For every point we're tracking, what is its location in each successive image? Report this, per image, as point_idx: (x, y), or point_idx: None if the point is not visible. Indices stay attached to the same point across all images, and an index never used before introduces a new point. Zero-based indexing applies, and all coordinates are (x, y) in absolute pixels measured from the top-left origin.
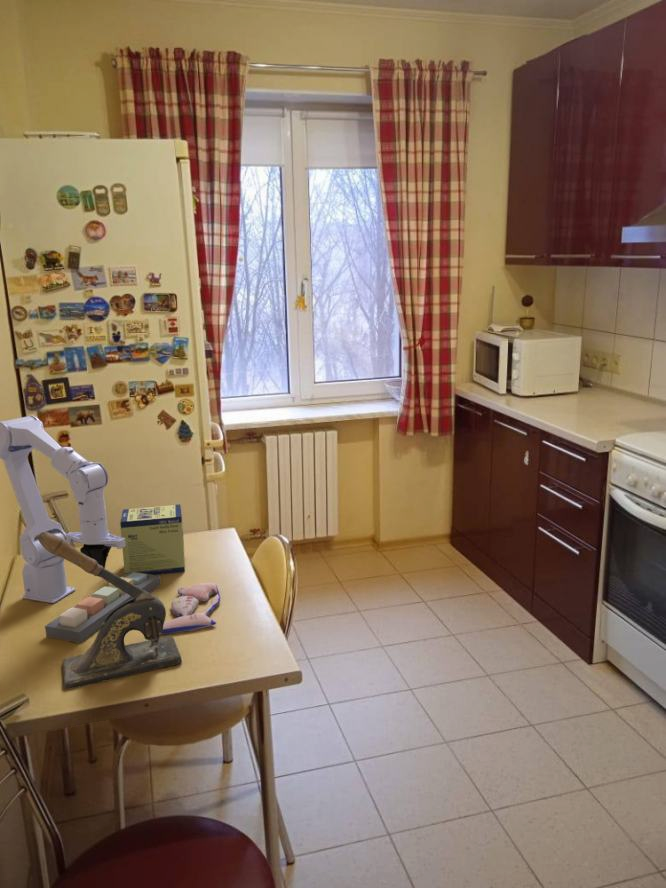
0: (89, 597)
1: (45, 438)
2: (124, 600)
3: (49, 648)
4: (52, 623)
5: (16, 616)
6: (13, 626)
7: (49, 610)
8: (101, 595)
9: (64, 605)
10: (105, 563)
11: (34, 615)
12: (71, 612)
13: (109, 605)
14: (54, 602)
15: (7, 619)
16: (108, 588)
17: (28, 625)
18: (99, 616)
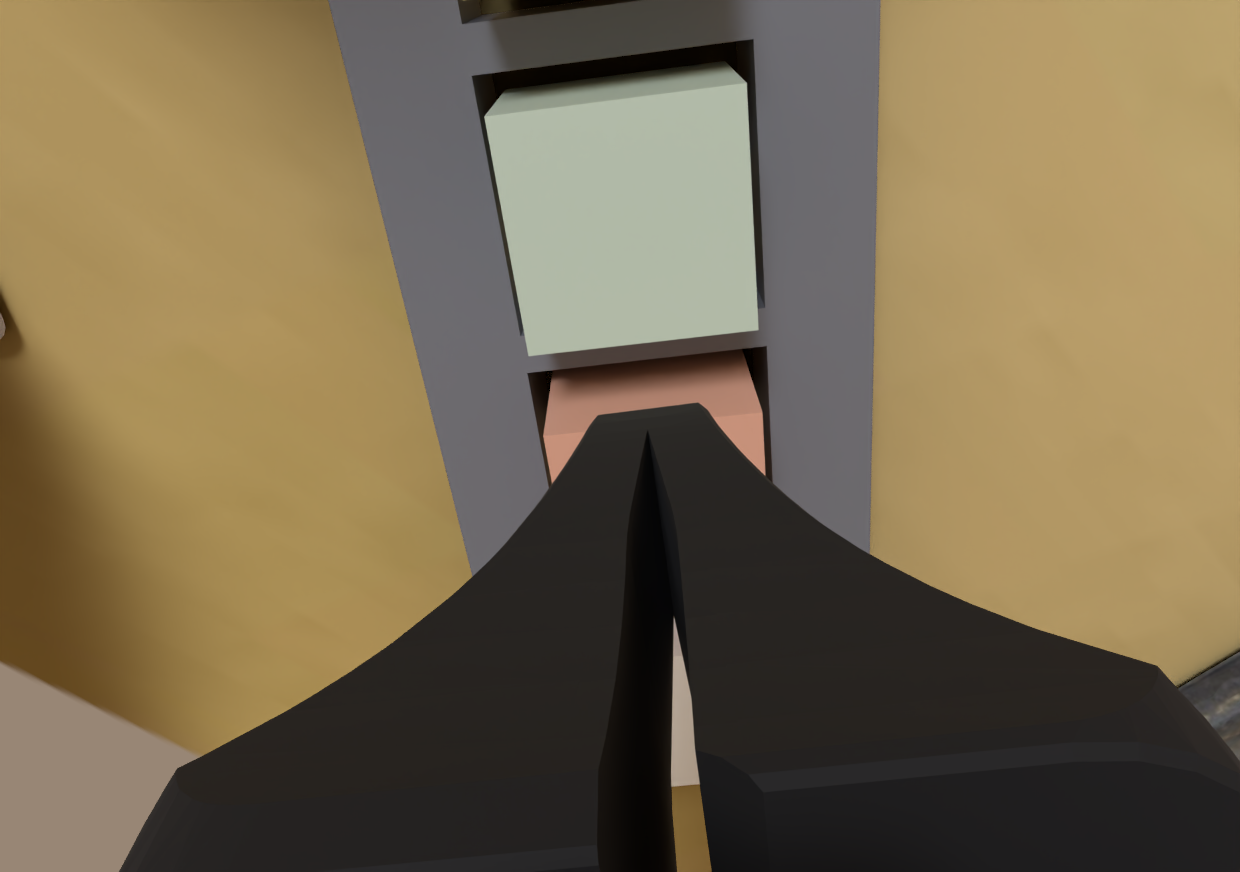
0: (574, 448)
1: None
2: (876, 132)
3: (687, 786)
4: None
5: (5, 611)
6: (167, 708)
7: (124, 436)
8: (659, 337)
9: (138, 304)
10: (758, 472)
11: (112, 547)
12: (672, 727)
13: (782, 313)
14: (4, 325)
15: (4, 664)
16: (600, 147)
17: (249, 662)
18: (849, 526)
